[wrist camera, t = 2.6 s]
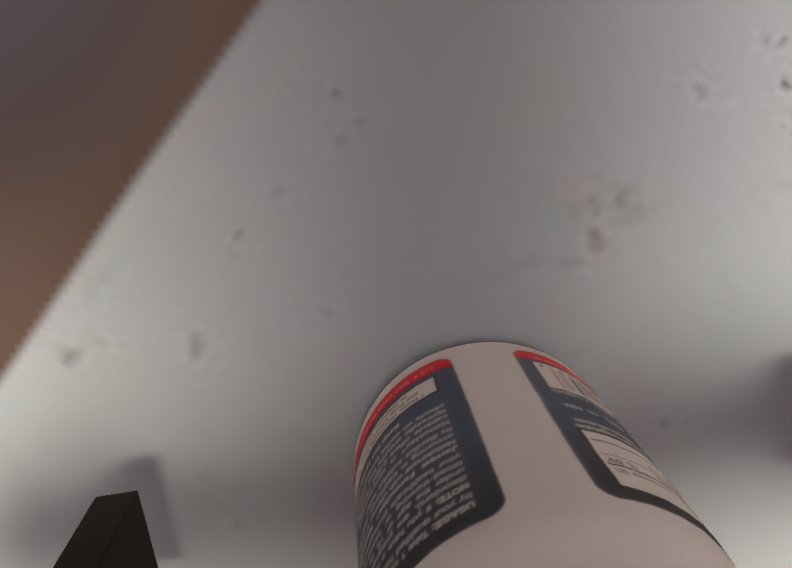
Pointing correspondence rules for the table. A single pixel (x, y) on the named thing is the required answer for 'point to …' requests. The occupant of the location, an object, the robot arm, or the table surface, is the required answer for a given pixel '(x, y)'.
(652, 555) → the pill bottle
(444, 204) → the table surface
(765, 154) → the table surface
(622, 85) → the table surface
